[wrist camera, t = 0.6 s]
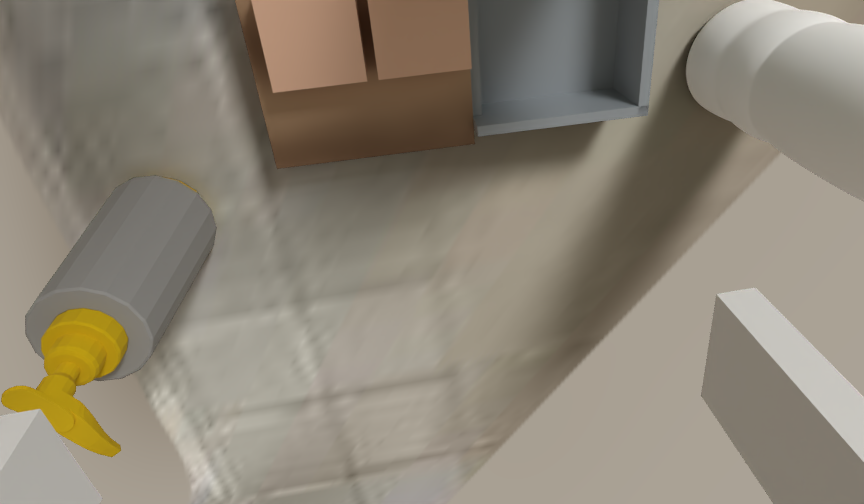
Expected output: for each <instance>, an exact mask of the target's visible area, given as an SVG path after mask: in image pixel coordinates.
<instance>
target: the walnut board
mask: <svg viewBox="0 0 864 504" xmlns="http://www.w3.org/2000/svg"><path fill="white" fill-rule="evenodd" d="M235 2H236V6H237V10H238V14H239V18H240V22H241V26H242V30H243V34H244V38H245V42H246V46H247V50H248V54H249V58H250V62H251V66H252V70H253V74H254V79H255V83H256V87H257V91H258V95H259V99H260V103H261V107H262V111H263V115H264V119H265V123H266V127H267V131H268V135H269V139H270V143H271V147H272V151H273V155H274V159H275V163H276V167H277V169H279V168H287V167H295V166H303V165H311V164H319V163H327V162H335V161H343V160H351V159H359V158H367V157H375V156H383V155H391V154H398V153H406V152H414V151H422V150H430V149H438V148H446V147H454V146H462V145H470V144H475V140H474V123H473V106H472V89H471V72H470V69H466V70H458V71H450V72H442V73H433V74H425V75H417V76H409V77H400V78H392V79H384V80H379V79H378V72H377V65H376V58H375V51H374V43H373V36H372V29H371V22H370V15H369V8H368V1H367V0H357V7H358V14H359V20H360V27H361V34H362V40H363V47H364V54H365V60H366V67H367V82H359V83H351V84H342V85H334V86H326V87H318V88H309V89H301V90H293V91H285V92H276V93H273V91H272V86H271V82H270V78H269V74H268V69H267V65H266V61H265V57H264V52H263V48H262V44H261V40H260V36H259V31H258V27H257V23H256V19H255V14H254V10H253V6H252V2H251V0H235Z"/></svg>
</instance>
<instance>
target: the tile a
mask: <svg viewBox="0 0 864 504" xmlns="http://www.w3.org/2000/svg"><path fill="white" fill-rule="evenodd" d="M251 2H252V6H253V10H254V14H255V19H256V23H257V27H258V31H259V36H260V40H261V44H262V48H263V52H264V57H265V61H266V65H267V69H268V74H269V78H270V82H271V86H272V91H273V93H276V92H285V91H293V90H301V89H309V88H318V87H326V86H334V85H342V84H351V83H359V82H367V67H366V60H365V54H364V47H363V40H362V34H361V27H360V20H359V14H358V7H357V0H251Z"/></svg>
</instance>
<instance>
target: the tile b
mask: <svg viewBox="0 0 864 504" xmlns="http://www.w3.org/2000/svg"><path fill="white" fill-rule="evenodd" d="M367 1H368V8H369V15H370V22H371V29H372V36H373V43H374V51H375V58H376V65H377V72H378V79H379V80H384V79H392V78H400V77H409V76H417V75H425V74H433V73H442V72H450V71H458V70H466V69H472V64H471V46H470V29H469V12H468V0H367Z"/></svg>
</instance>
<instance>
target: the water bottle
mask: <svg viewBox="0 0 864 504" xmlns="http://www.w3.org/2000/svg"><path fill="white" fill-rule="evenodd" d="M686 79H687V84H688V87H689V90H690V92H691V94H692V96H693V98H694V99H695V100H696V101H697V102H698V103H699V104H700V105H701V106H702V107H704V108H705V109H706V110H708V111H710V112H711V113H713V114H715V115H717V116H719V117H721V118H723V119H725V120H728V121H731V122H732V123H733V124H734V125H735V126H737V127H738V128H739V129H741V130H742V131H744V132H745V133H747V134H749V135H751V136H753V137H755V138H757V139H759V140H762V141H765V142H768V143H770V144H771V145H772V146H774V147H775V148H776V149H778V150H779V151H780V152H781V153H783V154H784V155H786V156H787V157H789V158H790V159H791V160H793V161H795V162H796V163H798V164H799V165H801V166H802V167H804V168H805V169H807V170H809V171H810V172H812V173H814V174H815V175H817V176H819V177H820V178H822V179H824V180H825V181H827V182H829V183H830V184H832V185H834V186H836V187H837V188H839V189H841V190H843V191H845V192H846V193H848V194H850V195H852V196H854V197H856V198H858V199H860V200H862V201H864V25H861V24H852V23H847V22H845V21H843V20H841V19H839V18H837V17H834V16H831V15H828V14H825V13H821V12H816V11H809V10H799V9H797V8H795V7H792V6H790V5H787V4H784V3H780V2H777V1H773V0H744V1H740V2H738V3H735V4H732V5H730V6H728V7H727V8H725V9H723V10H722V11H720V12H719V13H717V14H716V15H715V16H714V17H713V18H711V19H710V20H709V21H708V22H707V23H706V25H705V26H704V27H703V28H702V30H701V31H700V32H699V34H698V35H697V37H696V39H695V40H694V42H693V44H692V47H691V49H690V52H689V55H688V59H687V64H686Z"/></svg>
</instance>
